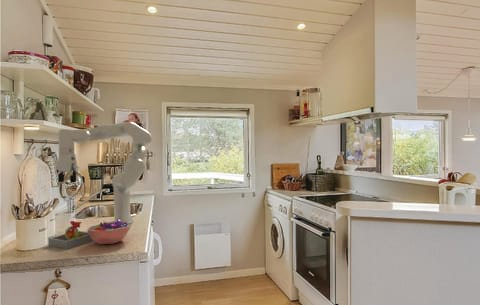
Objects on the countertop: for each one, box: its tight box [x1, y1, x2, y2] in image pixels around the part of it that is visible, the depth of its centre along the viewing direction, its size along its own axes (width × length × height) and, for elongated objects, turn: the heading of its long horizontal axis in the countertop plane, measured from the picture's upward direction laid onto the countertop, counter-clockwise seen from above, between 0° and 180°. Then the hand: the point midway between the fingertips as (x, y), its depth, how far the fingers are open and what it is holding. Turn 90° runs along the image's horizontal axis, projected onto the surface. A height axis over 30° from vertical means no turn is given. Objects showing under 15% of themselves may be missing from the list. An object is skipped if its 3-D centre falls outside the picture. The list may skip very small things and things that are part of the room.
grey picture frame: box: [47, 230, 94, 250], centre depth 147 cm, size 15×13×4 cm
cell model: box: [87, 219, 132, 245], centre depth 146 cm, size 17×20×11 cm
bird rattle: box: [64, 220, 84, 241], centre depth 147 cm, size 6×11×9 cm
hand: (67, 182), depth 165 cm, fingers open, 9 cm apart
